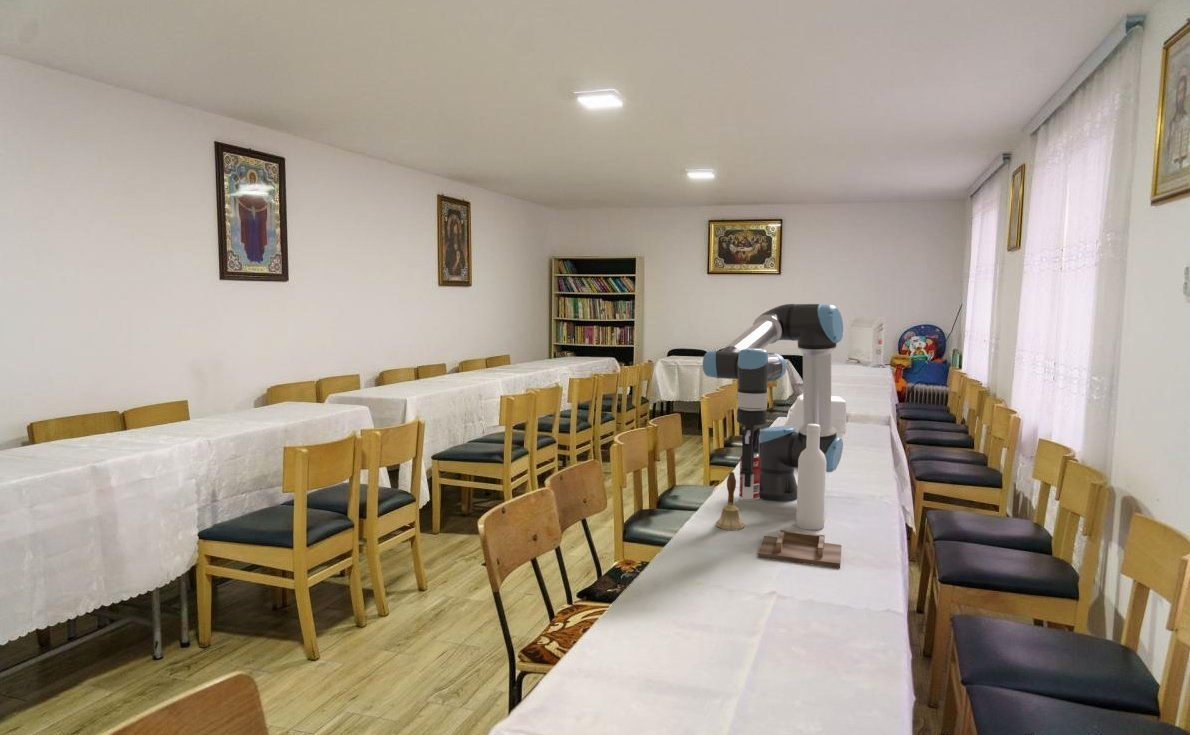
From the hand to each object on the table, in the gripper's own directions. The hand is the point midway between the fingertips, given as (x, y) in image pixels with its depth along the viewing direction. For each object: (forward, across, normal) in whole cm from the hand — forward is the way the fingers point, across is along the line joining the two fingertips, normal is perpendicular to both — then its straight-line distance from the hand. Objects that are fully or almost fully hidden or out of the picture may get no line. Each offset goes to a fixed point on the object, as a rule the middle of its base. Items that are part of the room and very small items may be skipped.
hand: (749, 495), depth 185 cm
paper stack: (+15, -116, +7) cm, 117 cm away
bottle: (+15, -26, +14) cm, 33 cm away
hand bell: (+15, -17, -8) cm, 24 cm away
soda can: (+1, 0, 0) cm, 1 cm away
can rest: (+15, -2, +13) cm, 20 cm away
